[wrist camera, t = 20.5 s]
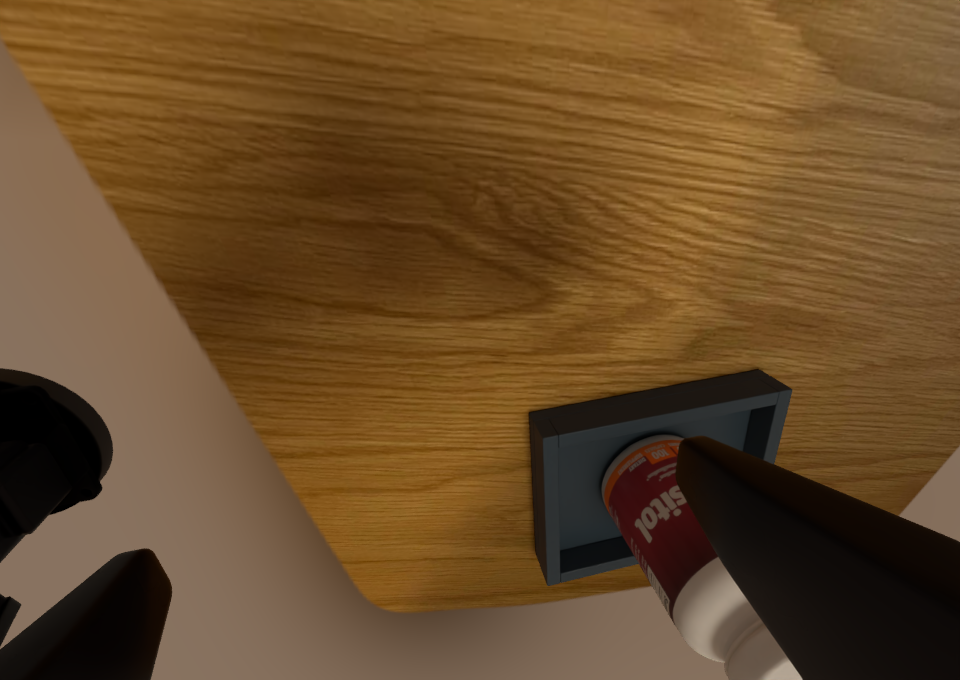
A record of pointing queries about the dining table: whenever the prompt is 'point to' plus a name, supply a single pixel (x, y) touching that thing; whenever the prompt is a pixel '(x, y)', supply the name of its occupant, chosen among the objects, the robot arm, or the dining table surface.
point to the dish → (611, 429)
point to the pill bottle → (687, 563)
